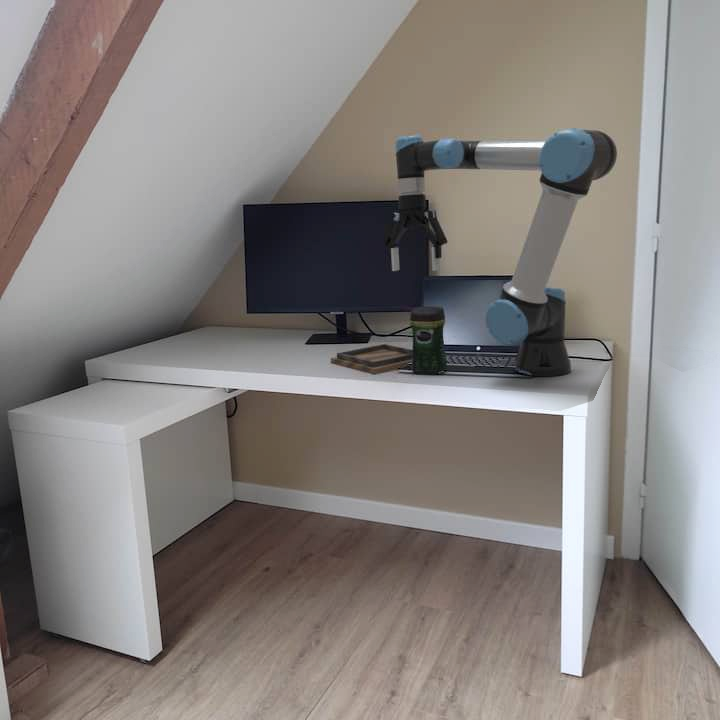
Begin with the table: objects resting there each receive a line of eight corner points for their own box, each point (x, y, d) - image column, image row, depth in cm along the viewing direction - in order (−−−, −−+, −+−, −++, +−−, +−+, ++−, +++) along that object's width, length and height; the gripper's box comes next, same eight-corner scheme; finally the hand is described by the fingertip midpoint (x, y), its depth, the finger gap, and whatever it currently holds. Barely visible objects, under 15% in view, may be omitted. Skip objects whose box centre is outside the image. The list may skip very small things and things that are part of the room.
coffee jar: (449, 369, 208) (448, 304, 204) (441, 376, 201) (440, 309, 197) (417, 367, 212) (415, 304, 208) (408, 374, 205) (406, 308, 201)
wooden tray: (430, 361, 218) (430, 352, 218) (374, 374, 206) (374, 364, 206) (384, 351, 236) (384, 342, 235) (330, 362, 224) (330, 353, 223)
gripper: (457, 190, 199) (460, 268, 203) (383, 196, 214) (387, 269, 218) (443, 191, 193) (446, 271, 198) (367, 197, 208) (372, 271, 213)
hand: (415, 270), depth 208 cm, fingers open, 13 cm apart
